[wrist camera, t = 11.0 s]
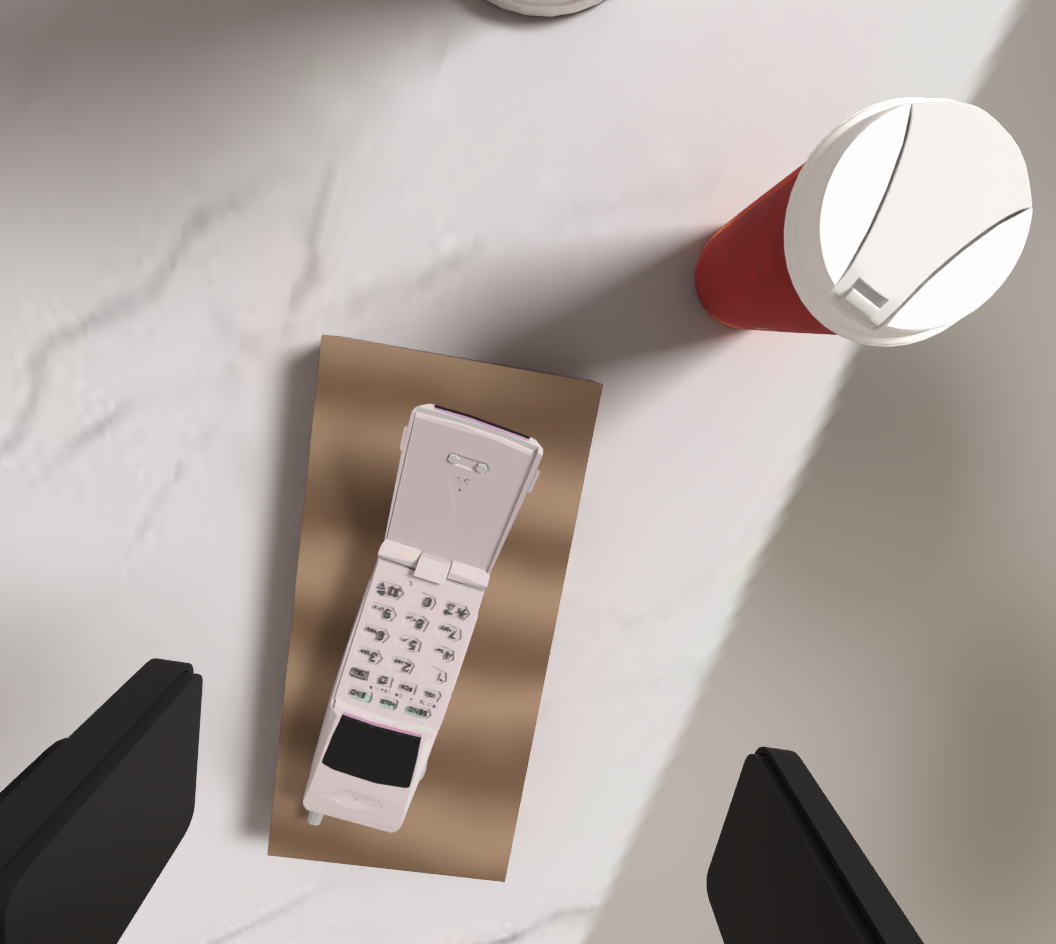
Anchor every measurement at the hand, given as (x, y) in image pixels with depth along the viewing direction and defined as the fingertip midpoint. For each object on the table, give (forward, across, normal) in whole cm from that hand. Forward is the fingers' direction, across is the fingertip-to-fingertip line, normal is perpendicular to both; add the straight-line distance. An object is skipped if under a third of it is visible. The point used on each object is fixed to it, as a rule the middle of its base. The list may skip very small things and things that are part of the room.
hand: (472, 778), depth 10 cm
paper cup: (+25, -11, -12) cm, 30 cm away
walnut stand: (+24, +2, +10) cm, 26 cm away
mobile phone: (+21, +3, +9) cm, 23 cm away
